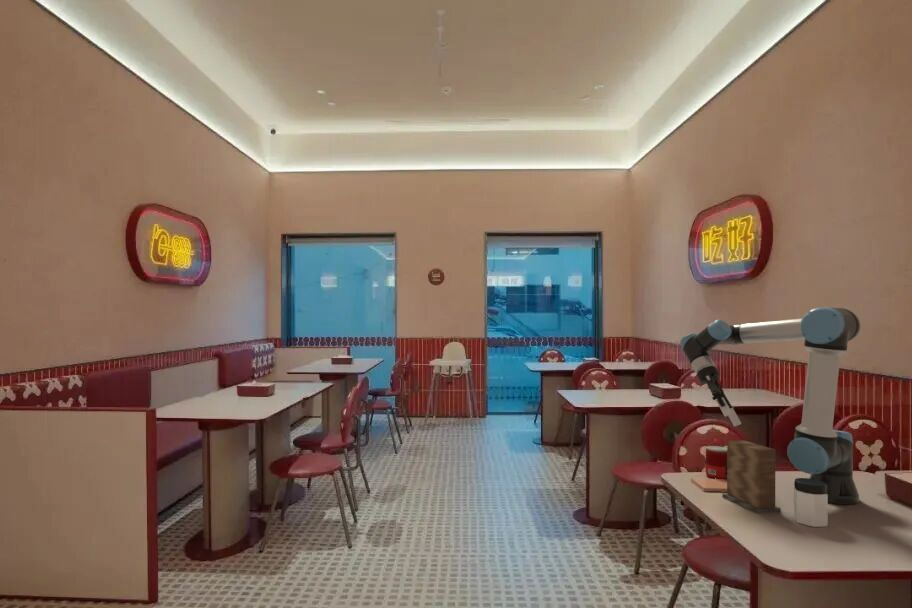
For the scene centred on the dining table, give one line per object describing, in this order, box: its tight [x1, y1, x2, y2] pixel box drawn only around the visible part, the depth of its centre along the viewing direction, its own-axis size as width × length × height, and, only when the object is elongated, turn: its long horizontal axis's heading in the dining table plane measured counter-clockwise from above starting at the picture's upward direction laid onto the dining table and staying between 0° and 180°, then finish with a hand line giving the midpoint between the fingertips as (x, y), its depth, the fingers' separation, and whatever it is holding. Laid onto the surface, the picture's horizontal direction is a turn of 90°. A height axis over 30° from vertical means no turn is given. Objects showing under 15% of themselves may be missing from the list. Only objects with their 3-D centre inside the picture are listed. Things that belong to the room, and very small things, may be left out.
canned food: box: [705, 445, 727, 480], centre depth 213 cm, size 8×8×11 cm
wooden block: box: [722, 439, 781, 514], centre depth 182 cm, size 16×8×19 cm, turn 15°
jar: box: [793, 477, 829, 528], centre depth 166 cm, size 9×8×12 cm
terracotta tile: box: [690, 477, 727, 493], centre depth 200 cm, size 12×12×1 cm
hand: (733, 420), depth 200 cm, fingers open, 13 cm apart
